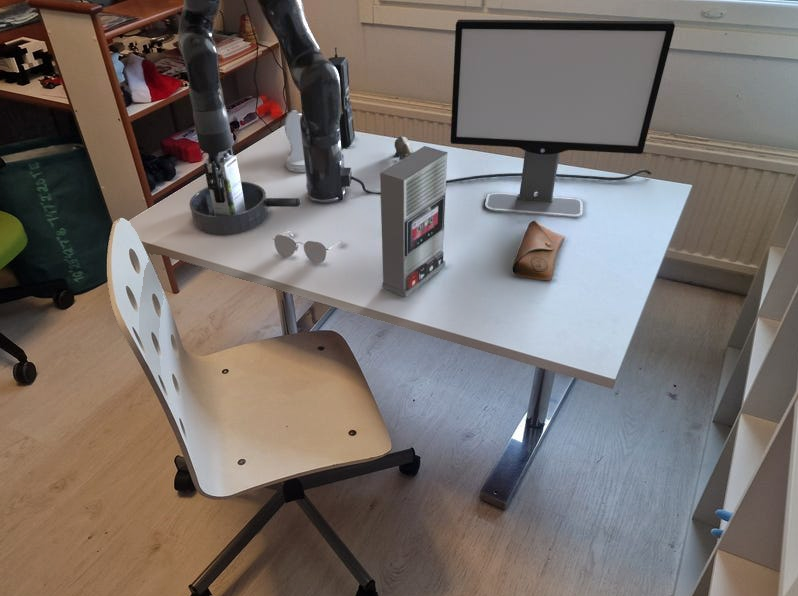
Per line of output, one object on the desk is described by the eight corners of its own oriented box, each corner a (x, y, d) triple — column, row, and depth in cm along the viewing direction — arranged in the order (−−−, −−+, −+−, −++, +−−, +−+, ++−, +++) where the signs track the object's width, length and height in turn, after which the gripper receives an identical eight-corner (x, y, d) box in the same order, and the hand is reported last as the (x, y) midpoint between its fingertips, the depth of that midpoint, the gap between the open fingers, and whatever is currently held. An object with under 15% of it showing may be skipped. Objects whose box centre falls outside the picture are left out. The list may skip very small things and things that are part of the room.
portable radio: (350, 149, 181) (344, 56, 164) (329, 148, 182) (322, 56, 166) (355, 138, 187) (350, 47, 170) (335, 137, 188) (328, 47, 171)
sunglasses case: (554, 280, 127) (540, 253, 124) (521, 290, 131) (507, 264, 128) (566, 235, 139) (554, 210, 136) (535, 246, 143) (523, 221, 140)
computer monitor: (446, 207, 153) (454, 24, 126) (451, 191, 159) (460, 13, 132) (626, 221, 143) (676, 27, 116) (625, 203, 149) (672, 14, 122)
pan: (275, 198, 161) (272, 181, 158) (258, 236, 148) (255, 217, 144) (206, 198, 163) (202, 181, 160) (184, 235, 150) (179, 216, 147)
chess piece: (326, 167, 173) (321, 112, 163) (292, 175, 170) (285, 119, 161) (315, 154, 180) (309, 100, 170) (282, 161, 177) (274, 107, 168)
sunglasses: (272, 254, 141) (271, 233, 138) (291, 241, 147) (290, 220, 145) (328, 266, 136) (328, 244, 134) (345, 252, 143) (345, 230, 140)
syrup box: (214, 219, 154) (201, 162, 144) (227, 207, 158) (215, 151, 148) (235, 222, 152) (223, 164, 143) (247, 210, 156) (236, 154, 147)
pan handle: (302, 204, 152) (301, 196, 151) (300, 208, 151) (299, 200, 149) (265, 204, 153) (264, 196, 152) (263, 208, 152) (262, 200, 150)
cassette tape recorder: (406, 299, 126) (406, 181, 109) (382, 288, 129) (378, 172, 112) (446, 267, 133) (451, 153, 117) (422, 258, 136) (424, 145, 120)
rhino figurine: (404, 176, 166) (404, 154, 162) (392, 155, 176) (392, 133, 172) (419, 174, 167) (419, 152, 163) (406, 153, 177) (406, 131, 173)
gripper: (220, 139, 135) (233, 208, 146) (237, 114, 146) (248, 180, 156) (186, 139, 136) (201, 208, 147) (205, 114, 146) (218, 180, 157)
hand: (225, 193), depth 151 cm, fingers open, 8 cm apart
